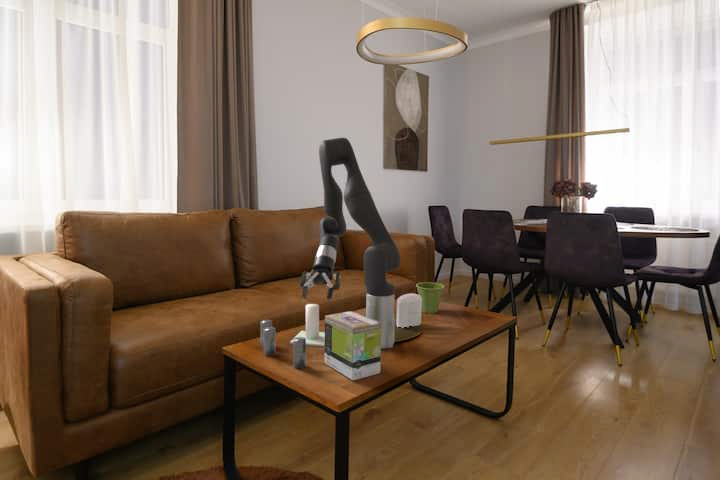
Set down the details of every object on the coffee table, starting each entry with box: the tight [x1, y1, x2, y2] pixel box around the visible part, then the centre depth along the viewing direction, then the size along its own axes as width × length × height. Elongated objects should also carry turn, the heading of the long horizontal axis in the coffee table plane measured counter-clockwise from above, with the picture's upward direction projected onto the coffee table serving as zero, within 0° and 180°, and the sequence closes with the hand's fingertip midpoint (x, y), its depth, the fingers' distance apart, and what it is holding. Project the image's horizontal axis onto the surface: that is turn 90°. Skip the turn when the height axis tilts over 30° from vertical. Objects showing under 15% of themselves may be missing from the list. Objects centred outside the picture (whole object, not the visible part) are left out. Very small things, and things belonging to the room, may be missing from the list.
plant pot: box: [415, 282, 445, 314], centre depth 184 cm, size 12×12×11 cm
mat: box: [289, 330, 325, 347], centre depth 149 cm, size 12×12×1 cm
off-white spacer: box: [305, 303, 320, 339], centre depth 148 cm, size 4×4×11 cm
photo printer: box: [395, 293, 422, 329], centre depth 164 cm, size 10×4×12 cm, turn 123°
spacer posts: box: [260, 319, 307, 370], centre depth 133 cm, size 28×18×8 cm, turn 79°
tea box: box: [324, 310, 382, 381], centre depth 124 cm, size 15×10×15 cm, turn 35°
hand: (316, 298), depth 152 cm, fingers open, 8 cm apart
